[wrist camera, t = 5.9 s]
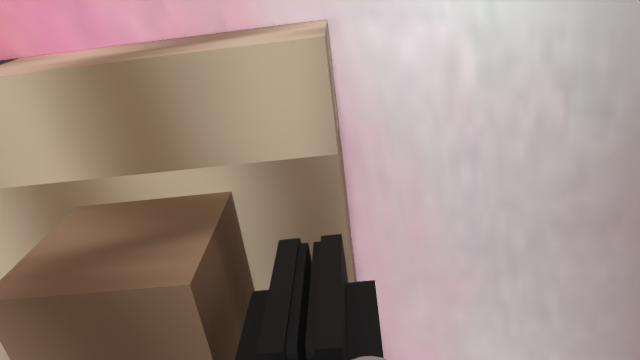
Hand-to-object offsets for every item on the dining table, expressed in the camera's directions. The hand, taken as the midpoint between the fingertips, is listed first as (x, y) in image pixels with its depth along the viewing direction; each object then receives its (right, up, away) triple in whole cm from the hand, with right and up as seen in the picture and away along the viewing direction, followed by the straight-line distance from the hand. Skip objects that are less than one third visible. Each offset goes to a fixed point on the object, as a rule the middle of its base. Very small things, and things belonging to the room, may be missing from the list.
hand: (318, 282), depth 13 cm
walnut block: (-4, 0, +1) cm, 5 cm away
